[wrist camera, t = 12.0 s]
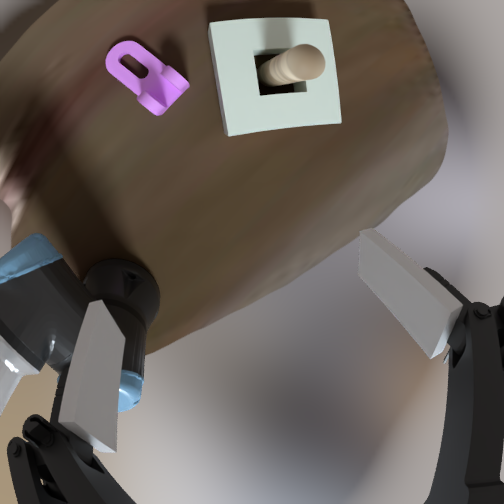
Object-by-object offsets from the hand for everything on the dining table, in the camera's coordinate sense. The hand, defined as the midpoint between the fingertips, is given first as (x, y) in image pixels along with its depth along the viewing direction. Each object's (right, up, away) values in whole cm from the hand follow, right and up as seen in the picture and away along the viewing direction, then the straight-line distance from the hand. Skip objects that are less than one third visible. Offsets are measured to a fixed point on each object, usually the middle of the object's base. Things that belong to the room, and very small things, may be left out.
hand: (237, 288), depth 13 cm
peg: (+3, +27, +21) cm, 35 cm away
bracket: (-14, +27, +18) cm, 35 cm away
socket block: (+3, +27, +21) cm, 35 cm away
